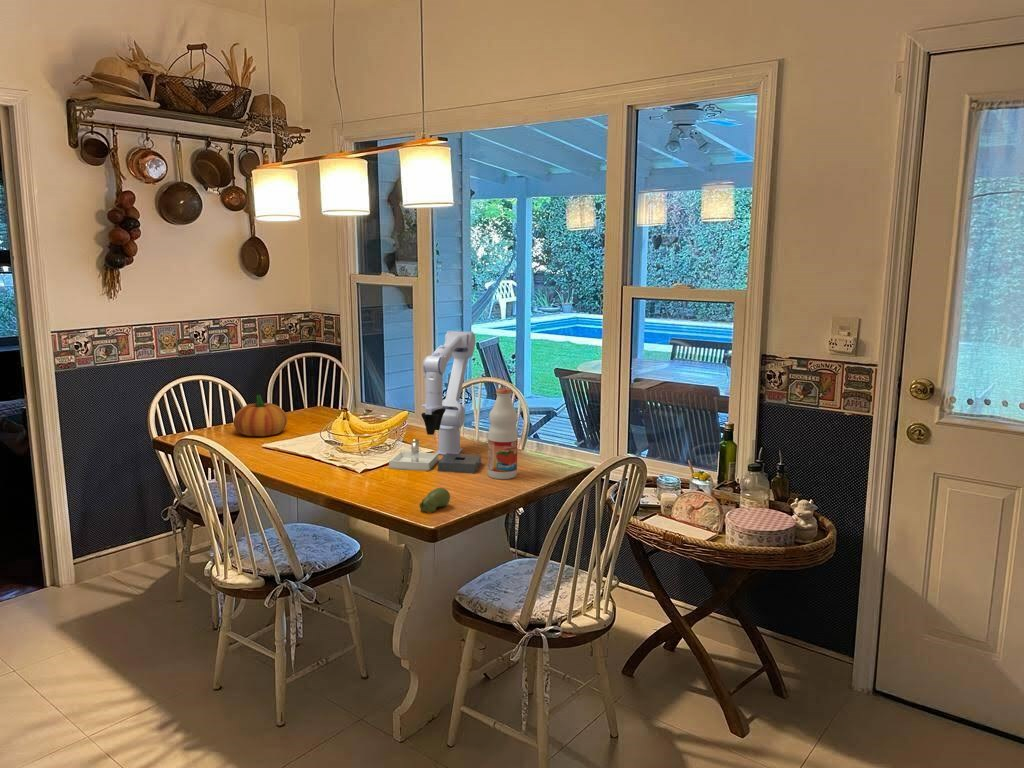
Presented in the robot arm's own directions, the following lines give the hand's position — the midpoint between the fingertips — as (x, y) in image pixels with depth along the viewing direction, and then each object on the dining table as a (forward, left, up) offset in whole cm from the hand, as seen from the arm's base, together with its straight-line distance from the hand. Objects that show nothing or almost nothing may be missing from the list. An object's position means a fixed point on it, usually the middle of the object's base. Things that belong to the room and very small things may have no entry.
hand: (433, 432), depth 260 cm
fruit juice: (+10, +25, -11) cm, 29 cm away
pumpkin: (-27, -74, -11) cm, 79 cm away
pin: (+4, -5, -10) cm, 12 cm away
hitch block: (+4, +10, -10) cm, 15 cm away
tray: (+4, -5, -10) cm, 12 cm away
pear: (+47, +12, -11) cm, 49 cm away
